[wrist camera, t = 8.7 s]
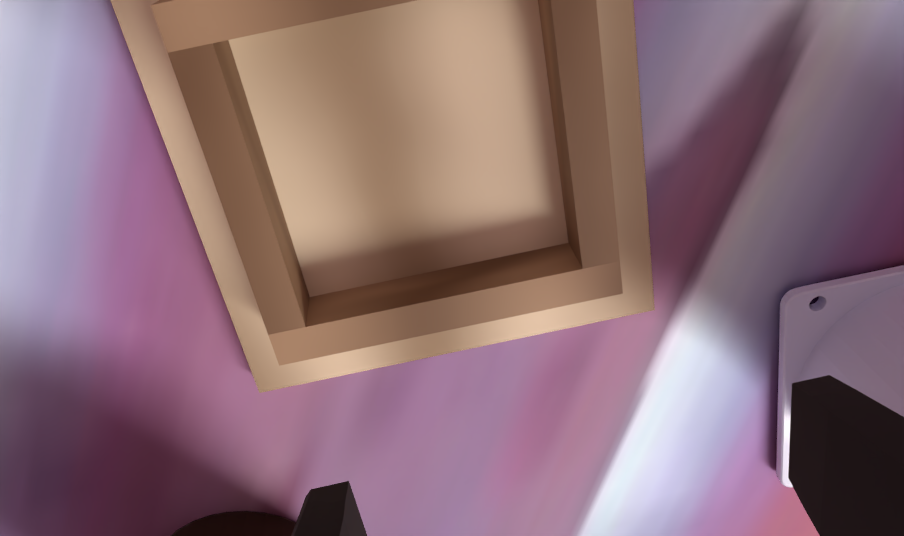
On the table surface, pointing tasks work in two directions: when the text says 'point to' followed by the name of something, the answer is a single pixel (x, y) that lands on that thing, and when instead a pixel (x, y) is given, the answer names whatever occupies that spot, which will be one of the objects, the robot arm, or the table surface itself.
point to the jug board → (402, 169)
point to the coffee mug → (238, 525)
